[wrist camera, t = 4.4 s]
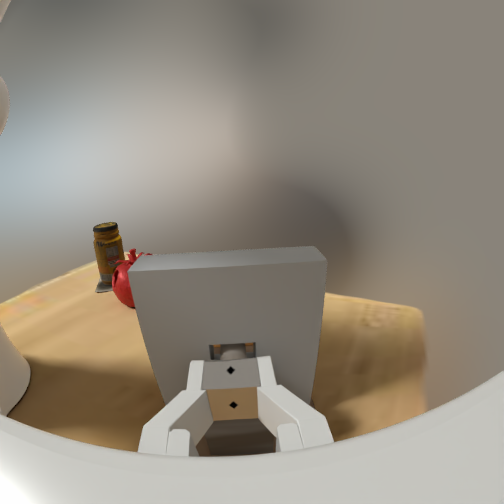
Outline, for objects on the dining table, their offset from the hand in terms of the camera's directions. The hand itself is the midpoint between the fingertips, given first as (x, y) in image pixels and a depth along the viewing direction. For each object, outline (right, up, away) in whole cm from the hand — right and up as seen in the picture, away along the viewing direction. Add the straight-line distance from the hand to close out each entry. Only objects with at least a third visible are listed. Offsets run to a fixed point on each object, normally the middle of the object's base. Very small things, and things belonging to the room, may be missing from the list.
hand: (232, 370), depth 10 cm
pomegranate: (-19, -4, +36) cm, 41 cm away
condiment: (-28, -2, +42) cm, 51 cm away
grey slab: (-1, -9, +13) cm, 16 cm away
